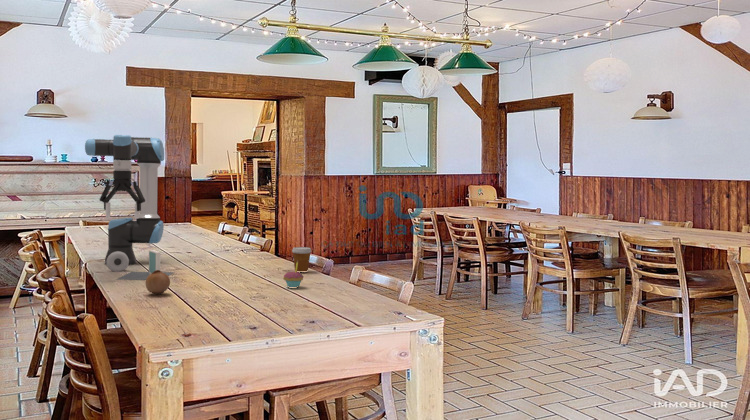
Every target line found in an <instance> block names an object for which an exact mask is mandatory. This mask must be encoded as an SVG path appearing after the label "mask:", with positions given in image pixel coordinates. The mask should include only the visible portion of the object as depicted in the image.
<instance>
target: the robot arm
mask: <svg viewBox="0 0 750 420" xmlns="http://www.w3.org/2000/svg"><path fill="white" fill-rule="evenodd" d="M164 147H165V146H164V144H163V142H162V140H161V139H160V138H157V137H137V136H136V137H135V136H133V137H132V136H131V135H128V134H115V135H114V136H113V137H112V139H103V138H102V139H100V138H99V139H98V138H96V139H95V138H88V139H86V141H85V144H84V151H85V153H86V155H88V156H92V157H113V158H112V163H113V164H112V165H113V166H112V167H113V168H112V169H113V173H112V174H113V176H112V178H113V180H106V185H105V187H104V190H103V191H102V194H101V196H100V197H99V201H100V202H102V203H103V209H104V210H105V218H111V202H110V201H111V199H112V198H113V197H114V195H116V193H117V192H127V193H128V194H129V196H131V198H132V199H133V200H134V202H135V203H134V219H135V220H133V217H123V218H115V219H111V220H109V222H108V226H107V231H108V233H107V238H108V241H107V242H108V244H107V245H108V248H107V252H106V256H105V257H104V265H106V266H107V263H106V262H107V258H108V256H109V255H110V254H111V253H113V252H117V251H119V252H123V253H125V254H126V255H127V257H128V259H129V264H128V266H130V265H135V264H136V263H137V257H136V255H135V252H134V249H133V244H149V245H151V244H159V243H160V241H161V240H162V237H163V234H164V221H163V220H161V217H160V215H159V214H158V178H159V176H158V175H159V174H158V172H159V171H158V170H159V167H160V166H161V164H162V163H161V162H164V160H165V148H164ZM132 161H136V164H137V165H138V166H139V181H136V180H135V181H132V171H131V170H132ZM112 186H113V188H112ZM132 187H133V188H132ZM111 188H112V189H111ZM110 190H111V191H110ZM134 191H135V192H134ZM114 264H115V265H120V264H121V259H119V258H117V259H115V260H114Z"/></svg>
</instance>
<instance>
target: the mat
mask: <svg viewBox="0 0 750 420" xmlns="http://www.w3.org/2000/svg"><path fill="white" fill-rule="evenodd" d="M162 272H163V273H165V274H166V275H168V277H169V276H171V275H173V274H175V272H172V271H171V272H169V271H168V272H167V271H166V272H164V271H162ZM149 275H150V274H149V271H130V272H128V273H126V274H124V275H122V276H120V277H117V278H115V280H118V281H121V280H122V281H123V280H124V281H125V280H126V281H127V280H128V281H146V279H147V277H148V276H149Z"/></svg>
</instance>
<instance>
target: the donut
mask: <svg viewBox="0 0 750 420" xmlns="http://www.w3.org/2000/svg"><path fill="white" fill-rule="evenodd" d="M117 258H119V259H121V264H120V265H115V264H114V260H115V259H117ZM106 263H107V265H106V266H107V268H108V269H109V270H110V271H111V272H123V271H125V270H127V268H128V266H129V265H128V264H129V259H128V257H127V255H126V254H125V253H123V252H119V251H117V252H113V253H111V254H110V255H109V256H108V258H107V262H106Z"/></svg>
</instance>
